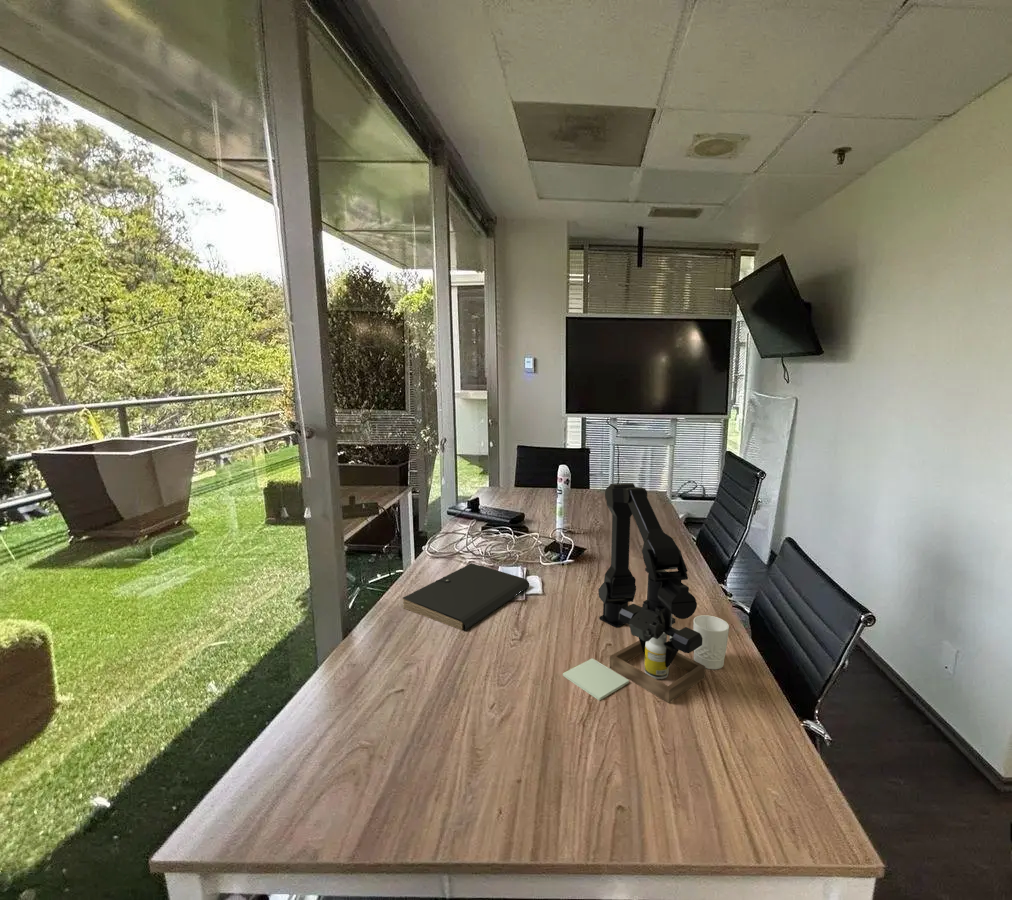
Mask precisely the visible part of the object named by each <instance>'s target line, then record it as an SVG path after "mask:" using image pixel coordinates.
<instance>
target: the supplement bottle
mask: <svg viewBox="0 0 1012 900" xmlns="http://www.w3.org/2000/svg"><path fill="white" fill-rule="evenodd" d="M667 638H668V635H666V634H662V635H661V636H660V637H659V638H658V639H656V638H651V639H650V640H649V641H646V643H645V655H644V667H643V668H644V673H646V674H648V675H650V676H651V677H653V678H655V679H657V680H664V679H667V677H668V676H669V670H670V666H669V667H666V666H665V658H666V647H665V646H664V643H666V642H667V641H668V640H667Z"/></svg>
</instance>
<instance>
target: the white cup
mask: <svg viewBox="0 0 1012 900" xmlns="http://www.w3.org/2000/svg"><path fill="white" fill-rule="evenodd" d="M692 624H693V625H692V626H693V627H692V628H693V629H692V630H694V631H696V632H698V633H700V634H701V635H702V638H703V639H702V646H700V647H698V648H697V649H695V650H694V651H693V660H694V661H696V662H698V663H700V664H702V665H704V666H705V669H708V670H720V669H722V668H723V667H724V666H725V665H724V663H725V657H726V655H727V654H726V652H727V646H728V641H729V640H728V637H729V631H730V625H729V623H728V622H727V621H726V620H725V619H722V618H720V617H717V616H714V615H710V614H709V615H707V614H705V615H704V614H703V615H697V616H695V617H694V618H693V623H692Z"/></svg>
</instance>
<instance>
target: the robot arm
mask: <svg viewBox="0 0 1012 900" xmlns="http://www.w3.org/2000/svg"><path fill="white" fill-rule="evenodd" d="M604 497H605V501H606V506H607V508H608V509H609V511H610V513H611V551H610V552H611V553H610V555H611V556H610V566H609V567H608V569H607V570H606V572H605V574H604V579H603V582H602V584H601V585H600V586H599V588H598V590H597V591H598V598H599V599H600V600H601V602H603V606H602V609H603V610H602V615H600V616H598V617H599V620H601V621H603V622H605V623H607V624H609V625H610V626H612V627H614V628H619V627H621V626H623V625H625V624H626V625H628V627H629V629H630V634H631V635H632V636H634V637H636V638H638V639H639V640H640V643H641V647H642V650H643V653H642V654H643V656H645V643H646V641H649V640H650V639H651V638H656V639H658V638H659V637H660V636H661V635H662V634H666V635H667V636H668V637H669V640H667V641H666V643H664V646H665V647H666V658H665V666H666V667H669V668H670V666H671V665H672V664H671V663H672V661H673V659H674V658H675V656H676V654H677V652H678V653H679V651H680V652H682V653H685V654H690V653H692V652H694V650H695V649H697V648H698V647H700V646H702V639H703V638H702V635H701V634H700V633H698V632H696V631H694V630H693V629H691V628H689V627H687V626H685V627H683V628H681V629H680V628H675V627H673V625H674V624H676V618H677V619H679V620H686V619H688V618H690V617H691V616H693V615H694V613H695V612H696V610H697V607H698V603H697V600H696V597H695V596H694V595H693V594H692V593H691V592H690V589H689V586H688V585H687V584H684V583H683V582H682V581H687V580H688V579H689V577H688V573H687V572H688V568H687V565H686V563H685V560H684V557H683V555H682V554H683V553H682V551H681V550H680V548H679V546H678V545H677V543H676V541H675V540H674V538H673V537H671V536H670V535H668V534H667V533H665V532H664V530H663V529H662V527H661V524H660V521H659V519H658V517H657V516H656V513H655V511H654V509H653V507H652V505H651V503H650V501H649V498H648V491H647V489H646V488H644V487H641V486H635V484H634V483H631V482H630V483H628V482H626V483H609V485H608V486H607V487H606V488H605V490H604ZM632 516H633V519H634V521H635V523H636V526H637V528H638V530H639V531H638V532H639V533H640V535H641V538H642V540H643V545H642V550H641V552H642V553H641V554H642V558H643V563H644V565H645V568H644V570H645V573H647V588H646V589H647V590H646V591H647V592H646V593H647V594H646V599H645V600H644V601H643V603H642V604H641V605H642V606H640V605H637V604H635V603H634V599H635V596H636V592H637V585H636V581H637V580H636V577H635V576H634V575H633V573H632V572H631V571H630V544H631V543H630V542H631V541H630V540H631V537H630V536H631V517H632ZM676 569H677V570H676ZM667 570H671V571H667ZM672 570H673V571H672ZM674 570H675V571H674ZM630 602H631V604H629V603H630ZM673 616H674V617H675V618H674V617H673ZM639 640H638V641H639Z"/></svg>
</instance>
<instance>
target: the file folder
mask: <svg viewBox="0 0 1012 900" xmlns="http://www.w3.org/2000/svg"><path fill="white" fill-rule="evenodd" d="M529 587H530V582H529V581H528V580H527V579H526V578H523V577H521V576H517V575H514V574H510V573H507V572H504V571H500V570H497V569H495V568H494V569H493V568H490V567H488V566H484V565H479V564H475V563H472V562H471V563H469V564H467V565H465V566H463V567H461V568H459V569H457V570H455V571H453V572H451V573H449V574H447V575H445V576H442V578H439V579H437V580H435V581H433V582H431V583H429V584H427V585H425V586H423V587H421V588H419V589H416V590H415V591H413V592H411V593H409V594H407V595H406V596H404V597H402V600H403V601H402V603H403V604H402V606H403V607H402V609H405V610H407V611H410V612H412V613H414V614H417V615H420V616H422V617H425V618H427V619H431V620H434V621H436V622H438V623H442V624H445V625H446V626H449V627H452V628H454V629H457V630H460V631H463V632H465V631H467V630H468V629H470V628H471V627H472V626H474V625H476V624H477V623H478V622H480V621H482V620H483V619H484V618H486V617H487V616H489V615H490V614H492V613H494V612H495V611H496V610H498V609H499V608H501V607H502V606H504V605H505V604H506V603H508V602H510V601H511V600H513V599H514V598H515V597H516V596H515V595H516V594H518V593H519V592H520V591H522V590H524V591H525V589H526V588H527V589H528V588H529ZM527 589H526V590H527ZM518 595H519V594H518ZM514 596H515V597H514ZM513 597H514V598H513Z"/></svg>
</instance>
